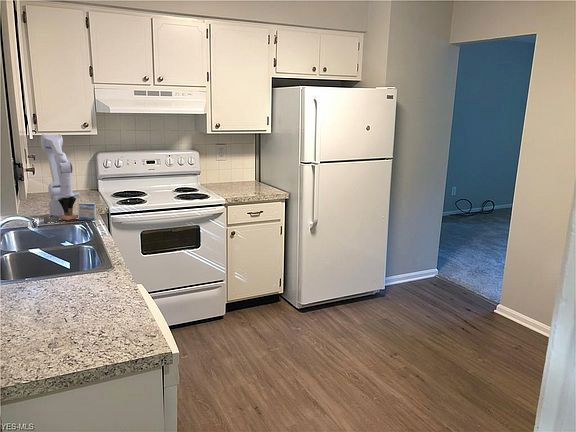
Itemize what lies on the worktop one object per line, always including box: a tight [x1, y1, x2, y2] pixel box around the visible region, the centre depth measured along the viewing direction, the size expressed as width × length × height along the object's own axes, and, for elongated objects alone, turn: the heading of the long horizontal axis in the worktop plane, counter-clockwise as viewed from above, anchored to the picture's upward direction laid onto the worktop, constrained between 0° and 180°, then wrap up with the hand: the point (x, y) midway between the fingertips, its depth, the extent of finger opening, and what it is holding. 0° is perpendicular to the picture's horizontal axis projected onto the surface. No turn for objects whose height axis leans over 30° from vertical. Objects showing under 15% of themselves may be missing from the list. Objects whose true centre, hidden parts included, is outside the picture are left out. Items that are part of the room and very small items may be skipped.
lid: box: [59, 208, 79, 220], centre depth 236 cm, size 6×6×5 cm
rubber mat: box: [59, 218, 80, 223], centre depth 237 cm, size 8×8×1 cm
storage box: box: [42, 214, 60, 224], centre depth 232 cm, size 5×5×3 cm
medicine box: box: [78, 202, 97, 221], centre depth 238 cm, size 8×4×9 cm, turn 105°
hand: (68, 211), depth 236 cm, fingers closed on lid
